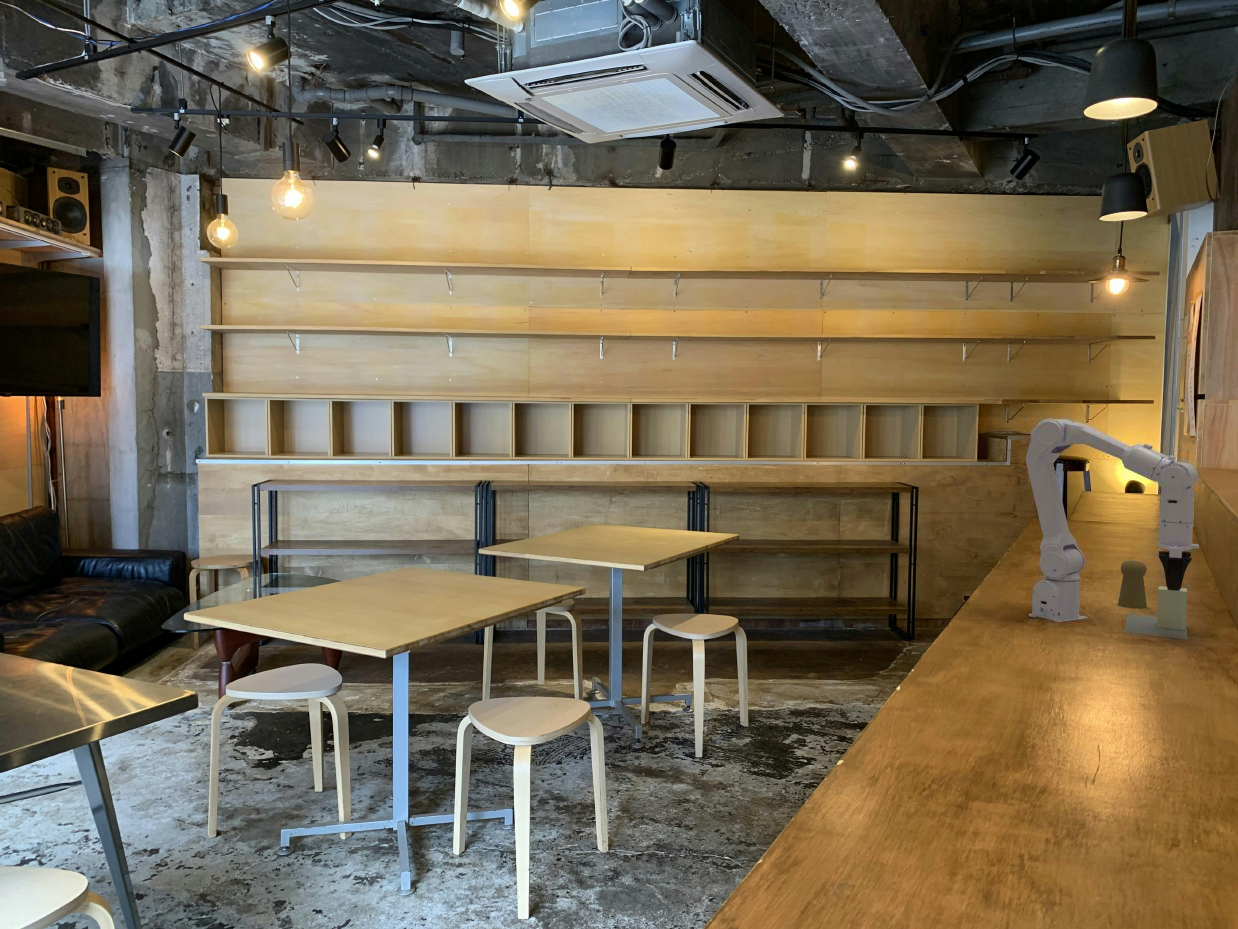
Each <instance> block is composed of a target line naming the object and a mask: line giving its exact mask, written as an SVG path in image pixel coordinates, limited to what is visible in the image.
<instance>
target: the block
mask: <svg viewBox="0 0 1238 929" xmlns="http://www.w3.org/2000/svg"><path fill="white" fill-rule="evenodd" d="M1157 590H1158V594H1157V596H1158V597H1157V627H1160V628H1169V629H1178V630H1185V629H1186V628H1187V601H1188V597H1187V596H1188V589H1187V588H1183V587H1181V589H1180V591H1173V590H1168V589H1167V586H1161V585H1160V586H1159V585H1158V589H1157Z"/></svg>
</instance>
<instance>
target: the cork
mask: <svg viewBox="0 0 1238 929" xmlns="http://www.w3.org/2000/svg"><path fill="white" fill-rule="evenodd" d="M1120 572H1121V574H1122V580H1121V584H1120V585H1121V586H1120V590H1119V595H1118V596H1119V597H1118V601H1117V606H1119V607H1122V608H1128V609H1135V610H1136V609H1146V608H1147V607H1148V604H1147V597H1146V590H1145V589H1146V588H1145V587H1146V586H1145V579H1144V576H1145V575H1146V574H1147V565H1146V564H1145V563H1144V562H1141V561H1137V560H1125V561H1123V562H1122V563H1121V565H1120Z"/></svg>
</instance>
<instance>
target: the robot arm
mask: <svg viewBox="0 0 1238 929" xmlns="http://www.w3.org/2000/svg"><path fill="white" fill-rule="evenodd" d="M1029 434H1030V442H1029V446H1028V449H1027V452H1026V455H1025V463H1026V467H1027V472H1028V476H1029V481H1030V484H1031V489H1032V494H1033V497H1034V502H1035V506H1036V511H1037V516H1038V519H1039V523H1040V524H1039V525H1040V528H1041V532H1042V533H1041V534H1042V537H1043V538H1042V540H1041V543H1040V546H1039V549H1040V558H1039V562H1038V564H1039V568H1040V570H1041V572H1042V573H1043V578H1042V580H1039V581H1037V582H1036V583H1035V584H1034V586H1033V588H1032V598H1031V599H1032V602H1031V607H1032V608H1031V613H1029V614H1028V617H1031V618H1036V617H1037V618H1042V619H1045V620H1049V621H1053V622H1058V623H1062V622H1068V621H1076V620H1082V619H1088V618H1089V617H1088V616H1084V615H1080V600H1081V599H1080V597H1081V596H1080V595H1081V576H1080V572H1082V570H1083V569H1084V568H1085V564H1086V557H1085V555H1084V554H1083V551H1082V550H1081V549H1080V548H1079V546H1078V543H1077V540H1076V539H1075V537H1074V536H1073V535H1072V533H1071V532H1070V530H1069V525H1068V524H1069V523H1068V521H1067V516H1066V513H1065V509H1064V508H1065V507H1064V503H1063V499H1062V495H1061V491H1060V487H1059V483H1058V479H1057V474H1056V469H1055V466H1054V464H1055V461H1057V459H1058V458H1059V457H1060V456H1061V455H1062V453H1064V451H1066V450H1067V449H1069V448H1071V447H1072V446H1074V445H1086V446H1087V447H1090V448H1092V449H1095V450H1097V451H1100V452H1102V453H1105V454H1107V455H1110V456H1112V457H1113V458H1117V459H1119V460H1121V463H1122V465H1123V468H1125V469H1126V470H1129V471H1131V472H1132V473H1134V474H1137V475H1139V476H1141V477H1144V478H1146V479H1147V480H1150V481H1152V482H1154V483H1156V482H1157V484H1158V486H1159V487H1160V488H1161V490H1160V491H1161V492H1160V500H1159V501H1160V504H1159V527H1158V528H1159V530H1158V541H1157V547H1159V548H1162V549H1164V550H1160V551H1158V559H1159V560H1160V563H1161V565H1162V567H1163V572H1164V577H1165V578H1164V579H1165V584H1166V587H1167V589H1168V590H1173V591H1180V589H1181V588H1182V586H1183V581H1184V577H1185V573H1186V570H1187V568H1188V566H1189V565H1190V564H1191V561H1193V560H1192V559H1193V558H1192V557H1191V556H1192V552H1191V551H1190V550H1193V549H1194V550H1195V549H1200V545H1199V544H1198V543H1197V544H1196V543H1193V529H1194V512H1195V511H1194V509H1195V508H1194V506H1195V503H1194V502H1195V499H1194V497H1195V496H1194V493H1195V492H1194V489H1195V487H1194V486H1195V485H1196V484H1197V482H1198V481H1199V472H1198V470H1197V468H1196V467H1195V466H1194V465H1193V464H1191V463H1190V462H1189V461H1187V460H1178V461H1176V458H1177V457H1176V456H1174V455H1173V454H1172V455H1167V454H1163V453H1161V452H1159V451H1158V450H1155V449H1153V445H1152V444H1149V443H1144V444H1141V443H1136V444H1134V445H1128V444H1127V443H1124V442H1122V441H1120V440H1119V439H1116V438H1114V437H1112V436H1110V435H1108V434H1106V433H1104V432H1102V431H1100V430H1098V429H1095V427H1092V426H1090V425H1087V424H1085V423H1082V422H1079V421H1075V420H1073V419H1071V418H1059V419H1055V418H1045V419H1042V420H1040V421H1039V422H1038V423H1037V425H1036V426H1035V427H1034V428H1033V429H1032V430H1031V431H1030V433H1029Z"/></svg>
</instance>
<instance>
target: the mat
mask: <svg viewBox="0 0 1238 929" xmlns="http://www.w3.org/2000/svg"><path fill="white" fill-rule="evenodd" d="M1157 616H1158V615H1157ZM1157 616H1153V615H1146V614H1145V615H1144V614H1136V613H1126V620H1125V625H1124V630H1123V633H1125V634H1133V635H1144V636H1152V637H1161V638H1170V639H1176V640H1177V639H1179V640H1186V641H1188V639H1189V638H1188V631H1187V630H1188V629H1187V627H1186V629H1185V630H1178V629H1169V628H1160V627H1157Z"/></svg>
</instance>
